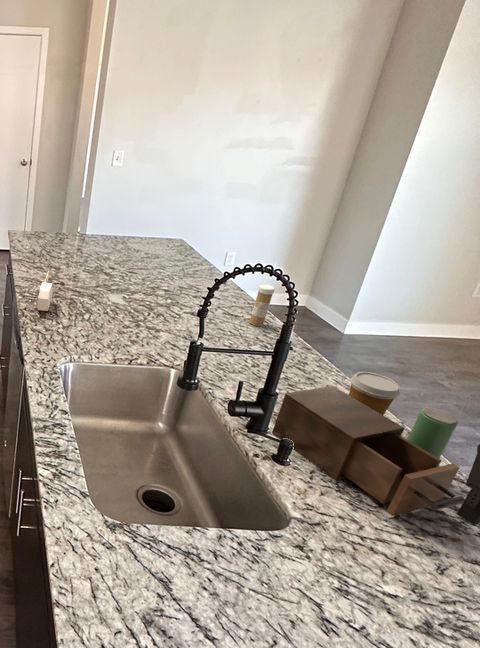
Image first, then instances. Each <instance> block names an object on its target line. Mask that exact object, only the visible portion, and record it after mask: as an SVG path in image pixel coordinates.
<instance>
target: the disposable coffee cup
mask: <svg viewBox="0 0 480 648" xmlns="http://www.w3.org/2000/svg"><path fill="white" fill-rule="evenodd" d="M349 381H350V387H349V391H348V395H349V396H351V397H353V398H354V399H356V400H358V401H359V402H361V403H363V404H365V405H366V406H368V407H370V408H371V409H373V410H375V411H377V412H378V413H380V414H382V415H383V416H385V413H386V412H387V410H388V409H389V408H390V405H391V404H392V403H393V401H394V400H395V399H396V398H397V397H399V395H400V393H401V391H400V385H399V384H398V383H397V382H396V381H394V380H393V379H391V378H390V377H387V376H384V375H382V374H380V373H374V372H369V371H358V372H356V373H355V374H354V375H353V376H351V377H350V379H349Z"/></svg>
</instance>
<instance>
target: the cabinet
mask: <svg viewBox="0 0 480 648" xmlns="http://www.w3.org/2000/svg"><path fill="white" fill-rule="evenodd" d="M274 423H275V424H274V425H273V429H272V431H271V433H272V434H273V435H274V436H276V437H277V438H278V439H280V440H281V439H283V438H288V439H290V440H292V441H293V442H294V449H293V450H294V451H295V452H297V453H298V454H299V455H301V456H302V457H304V459H306V460H307V461H309V462H310V463H311V464H312V465H314V466H315V467H317V469H319V470H321V471H322V472H323V473H324V474H326V475H327V476H328V477H329V478H331V479H332V480H334V481H335V482H337V481H340V480H344V479H348V478H347V477H345V476H344V475H343V474H342V471H343V469H344V467H345V464H346V462H347V460H348V457H349V455H350V453H351V451H352V448H353V446H354V444H355V441H358V440H363V439H368V438H373V437H378V436H383V435H388V434H393V433H397V434H399V435H400V436H402V434H403V433H404V430H405V427H404V426H402V425H401V424H399V423H397V422H396V421H393V420H392V419H391V418H389V417H387V416H386V415H382V414H380V413H378V412H377V411H375V410H373V409H371V408H370V407H368V406H366V405H365V404H363V403H361V402H359V401H358V400H356V399H354V398H353V397H351V396H349V394H347V393H346V392H344V391H342V390H340V389H339V388H337V387H335V386H334V385H328V386H323V387H316V388H309V389H305V390H304V389H303V390H298V391H292V392H285V394H284V397H283V399H282V403H281V406H280V408H279V411H278V414H277V417H276V420H275V422H274Z"/></svg>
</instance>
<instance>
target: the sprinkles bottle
mask: <svg viewBox="0 0 480 648" xmlns="http://www.w3.org/2000/svg"><path fill="white" fill-rule="evenodd" d="M274 293H275V287H274V286H272V285H269V284H260V285H259V286H258V289H257V295H256V298H255V301H254V303H253V308H252V311H251V315H250V318H249V320H248V323H249V324H250V325H252V326H255V327H256V326H257V327H263V326H264V325H265V319H266V317H267V314H268V311H269V308H270V305H271V300H272V299H273V298H272V297H273V295H274Z"/></svg>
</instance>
